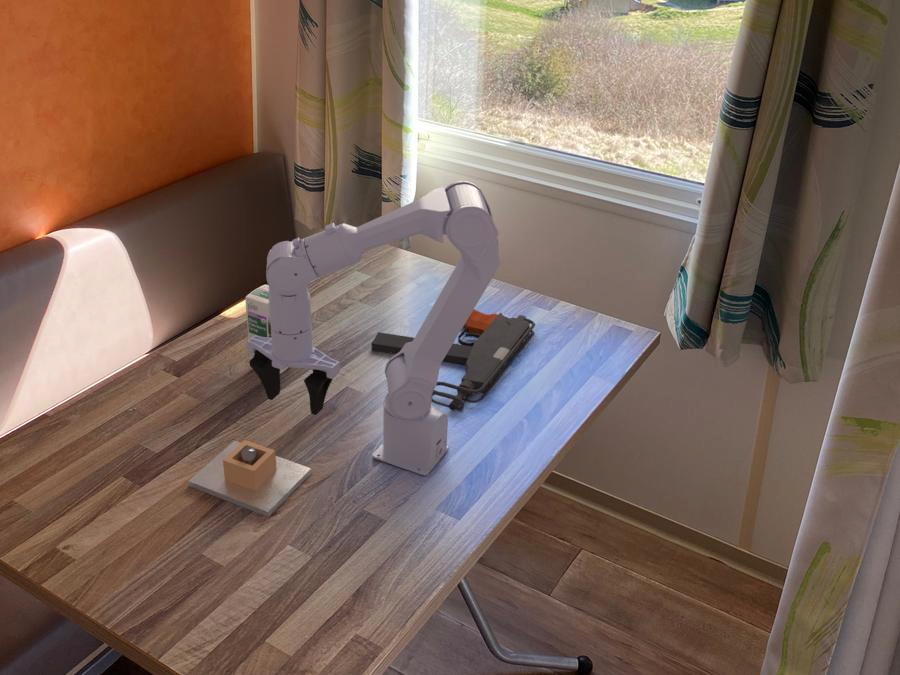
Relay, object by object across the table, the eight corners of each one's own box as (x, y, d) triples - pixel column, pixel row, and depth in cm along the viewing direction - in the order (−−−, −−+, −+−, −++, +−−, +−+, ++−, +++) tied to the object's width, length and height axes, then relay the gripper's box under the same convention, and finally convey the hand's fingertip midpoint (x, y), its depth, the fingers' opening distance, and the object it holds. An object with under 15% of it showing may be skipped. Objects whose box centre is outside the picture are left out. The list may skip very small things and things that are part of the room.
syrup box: (249, 369, 170) (243, 296, 162) (269, 353, 174) (264, 282, 167) (275, 378, 168) (271, 305, 160) (296, 362, 172) (292, 290, 165)
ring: (276, 469, 145) (275, 450, 143) (255, 490, 141) (254, 471, 139) (246, 459, 147) (244, 439, 145) (224, 479, 143) (222, 460, 141)
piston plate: (311, 473, 146) (309, 444, 143) (268, 517, 138) (266, 487, 135) (234, 445, 151) (232, 417, 149) (188, 486, 143) (185, 456, 140)
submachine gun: (419, 289, 193) (538, 319, 184) (419, 301, 194) (537, 331, 185) (338, 367, 168) (472, 405, 159) (338, 380, 169) (471, 419, 160)
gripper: (231, 324, 137) (238, 403, 144) (319, 351, 132) (322, 432, 139) (261, 302, 142) (266, 380, 150) (346, 328, 137) (348, 407, 144)
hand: (295, 403), depth 145 cm, fingers open, 7 cm apart
